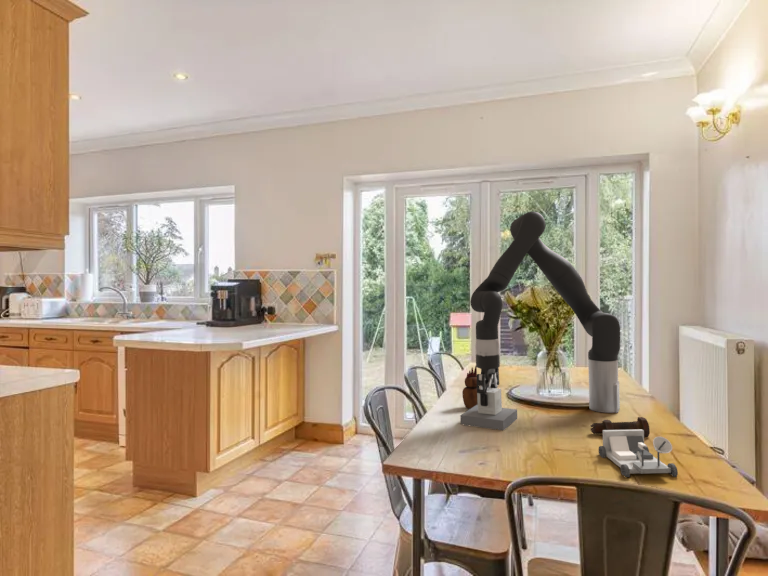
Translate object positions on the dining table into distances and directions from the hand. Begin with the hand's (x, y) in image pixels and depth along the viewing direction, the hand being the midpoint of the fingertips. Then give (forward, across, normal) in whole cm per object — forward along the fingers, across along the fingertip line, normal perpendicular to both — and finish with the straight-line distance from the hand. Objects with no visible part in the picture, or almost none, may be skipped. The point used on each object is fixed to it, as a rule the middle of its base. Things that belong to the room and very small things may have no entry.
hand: (488, 402), depth 157 cm
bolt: (+7, -4, +38) cm, 38 cm away
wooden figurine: (+6, -13, -11) cm, 18 cm away
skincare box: (+3, 0, 0) cm, 3 cm away
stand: (+6, 0, 0) cm, 6 cm away
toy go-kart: (+7, +20, +44) cm, 49 cm away
